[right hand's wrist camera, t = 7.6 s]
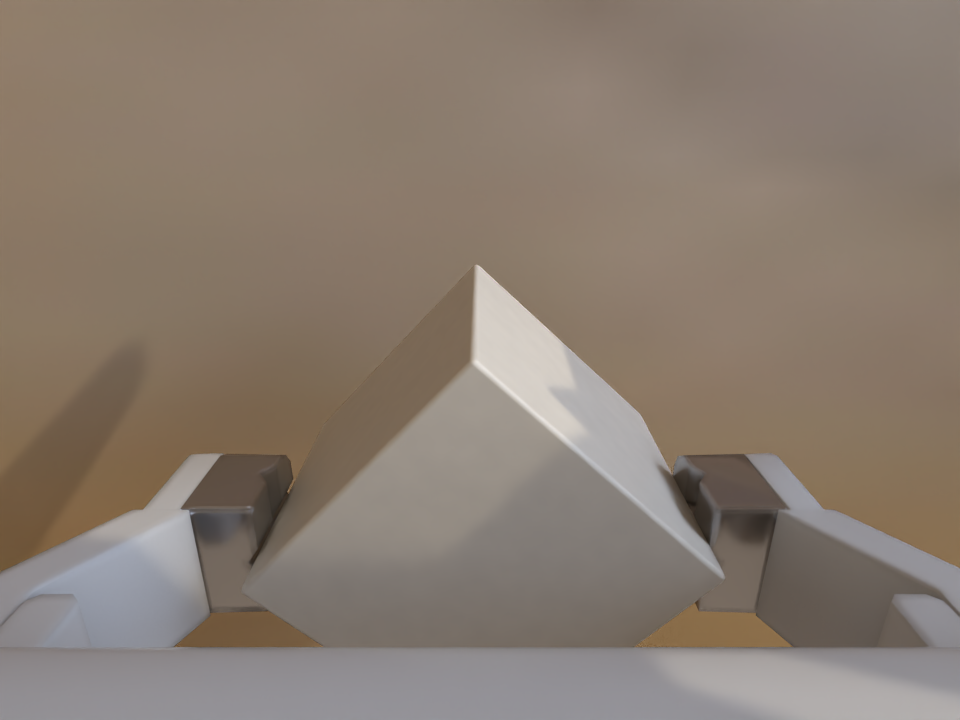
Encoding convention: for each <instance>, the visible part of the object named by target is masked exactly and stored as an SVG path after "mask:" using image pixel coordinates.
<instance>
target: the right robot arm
mask: <svg viewBox="0 0 960 720" xmlns="http://www.w3.org/2000/svg"><path fill="white" fill-rule="evenodd" d="M673 477H674V479H675V481H676V483H677V485H678V487H679V489H680V491H681V493H682V495H683V497H684V498H685V500H686V502H687V504H688V506H689V508H690V510H691V512H692V514H693V515H694V517H695V519H696V521H697V523H698V525H699V527H700V529H701V531H702V533H703V535H704V536H705V538H706V540H707V542H708V544H709V546H710V548H711V550H712V552H713V554H714V556H715V557H716V559H717V561H718V563H719V565H720V567H721V569H722V571H723V573H724V575H725V580H724V581H723V582H722V583H720V584H719V585H718V586H716V587H715V588H714V589H712V590H711V591H710V592H708V593H707V594H705V595H704V596H703V597H701V598H700V599H699V600H697V601H696V602H695V604H696V606H697V608H698V610H699V611H712V612H748V613H756V616H757V617H759V618H760V619H761V620H762V621H763V622H764V623H766V624H767V625H768V626H769V627H770V628H772V629H773V630H774V631H775V632H776V633H778V634H779V635H780V636H781V637H782V638H784V639H785V640H786V641H787V642H788V643H790V644H791V645H792V646H793V647H174V646H175V645H176V644H177V643H179V642H180V641H181V640H182V639H183V638H185V637H186V636H187V635H188V634H189V633H190V632H192V631H193V630H194V629H195V628H196V627H198V626H199V625H200V624H201V623H202V622H204V621H205V620H206V619H207V618H208V617H209V616H210V613H218V612H253V611H268V610H267V609H265V608H264V607H262V606H260V605H259V604H257V603H256V602H254V601H253V600H251V599H250V598H248V597H247V596H245V595H244V594H243V593H242V592H241V590H242V586H243V584H244V582H245V580H246V578H247V576H248V574H249V572H250V570H251V568H252V566H253V564H254V562H255V560H256V558H257V556H258V554H259V552H260V550H261V548H262V546H263V544H264V542H265V540H266V538H267V536H268V534H269V532H270V530H271V528H272V526H273V524H274V522H275V520H276V518H277V516H278V514H279V512H280V510H281V508H282V506H283V504H284V502H285V500H286V498H287V496H288V493H287V490H288V488H289V486H290V484H291V482H292V480H293V475H292V469H291V462H290V460H289V459H288V457H287V456H286V455H262V454H223V453H211V454H193V455H189V456H188V457H187V458H186V460H185V461H184V462H183V463H182V464H181V465H180V467H179V468H178V469H177V470H176V471H175V472H174V474H173V475H172V476H171V477H170V478H169V479H168V481H167V482H166V483H165V484H164V485H163V486H162V488H161V489H160V490H159V491H158V492H157V494H156V495H155V496H154V497H153V498H152V499H151V501H150V502H149V503H148V504H147V505H146V506H145V508H144V509H143V510H131V511H129V512H127V513H125V514H123V515H120V516H118V517H116V518H114V519H112V520H110V521H108V522H106V523H103V524H101V525H99V526H97V527H95V528H93V529H91V530H89V531H86V532H84V533H82V534H80V535H78V536H76V537H74V538H72V539H69V540H67V541H65V542H63V543H61V544H59V545H57V546H55V547H52V548H50V549H48V550H46V551H44V552H42V553H40V554H37V555H35V556H33V557H31V558H29V559H27V560H25V561H23V562H20V563H18V564H16V565H14V566H12V567H10V568H8V569H6V570H3V571H1V572H0V720H960V568H958V567H956V566H954V565H951V564H949V563H947V562H945V561H943V560H941V559H939V558H936V557H934V556H932V555H930V554H928V553H926V552H924V551H922V550H919V549H917V548H915V547H913V546H911V545H909V544H907V543H904V542H902V541H900V540H898V539H896V538H894V537H892V536H889V535H887V534H885V533H883V532H881V531H879V530H877V529H874V528H872V527H870V526H868V525H866V524H864V523H862V522H859V521H857V520H855V519H853V518H851V517H849V516H847V515H844V514H842V513H840V512H838V511H836V510H824V509H823V508H822V507H821V505H820V504H819V503H818V502H817V501H816V500H815V499H814V497H813V496H812V495H811V494H810V493H809V492H808V491H807V489H806V488H805V487H804V486H803V485H802V484H801V483H800V481H799V480H798V479H797V478H796V477H795V476H794V474H793V473H792V472H791V471H790V470H789V469H788V468H787V466H786V465H785V464H784V463H783V462H782V461H781V460H780V458H779V457H778V456H776V455H774V454H771V453H760V454H723V455H683V456H678V457H677V460H676V462H675V465H674V472H673Z"/></svg>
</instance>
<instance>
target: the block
mask: <svg viewBox="0 0 960 720" xmlns="http://www.w3.org/2000/svg"><path fill="white" fill-rule="evenodd" d="M724 580H725V575H724V573H723V571H722V569H721V567H720V565H719V563H718V561H717V559H716V557H715V556H714V554H713V552H712V550H711V548H710V546H709V544H708V542H707V540H706V538H705V536H704V535H703V533H702V531H701V529H700V527H699V525H698V523H697V521H696V519H695V517H694V515H693V514H692V512H691V510H690V508H689V506H688V504H687V502H686V500H685V498H684V497H683V495H682V493H681V491H680V489H679V487H678V485H677V483H676V481H675V479H674V477H673V475H672V474H671V472H670V470H669V468H668V466H667V464H666V462H665V460H664V458H663V456H662V454H661V453H660V451H659V449H658V447H657V445H656V443H655V441H654V439H653V437H652V435H651V434H650V432H649V430H648V428H647V426H646V424H645V422H644V420H643V418H642V416H641V414H640V413H638V412H637V411H636V410H635V409H634V408H633V407H632V406H631V405H630V404H629V403H628V402H627V401H625V400H624V399H623V398H622V397H621V396H620V395H619V394H618V393H617V392H616V391H615V390H614V389H612V388H611V387H610V386H609V385H608V384H607V383H606V382H605V381H604V380H603V379H602V378H600V377H599V376H598V375H597V374H596V373H595V372H594V371H593V370H592V369H591V368H590V367H589V366H587V365H586V364H585V363H584V362H583V361H582V360H581V359H580V358H579V357H578V356H577V355H576V354H574V353H573V352H572V351H571V350H570V349H569V348H568V347H567V346H566V345H565V344H564V343H562V342H561V341H560V340H559V339H558V338H557V337H556V336H555V335H554V334H553V333H552V332H551V331H549V330H548V329H547V328H546V327H545V326H544V325H543V324H542V323H541V322H540V321H539V320H538V319H536V318H535V317H534V316H533V315H532V314H531V313H530V312H529V311H528V310H527V309H526V308H524V307H523V306H522V305H521V304H520V303H519V302H518V301H517V300H516V299H515V298H514V297H513V296H511V295H510V294H509V293H508V292H507V291H506V290H505V289H504V288H503V287H502V286H501V285H500V284H498V283H497V282H496V281H495V280H494V279H493V278H492V277H491V276H490V275H489V274H488V273H486V272H485V271H484V270H483V269H482V268H481V267H480V266H478V265H475V266H473V267H472V268H471V269H470V270H469V271H468V272H467V273H466V274H465V275H464V277H463V278H462V279H461V280H460V281H459V282H458V283H457V284H456V285H455V286H454V287H453V288H452V289H451V290H450V291H449V292H448V293H447V294H446V296H445V297H444V298H443V299H442V300H441V301H440V302H439V303H438V304H437V305H436V306H435V307H434V308H433V309H432V310H431V311H430V312H429V313H428V315H427V316H426V317H425V318H424V319H423V320H422V321H421V322H420V323H419V324H418V325H417V326H416V327H415V328H414V329H413V330H412V331H411V332H410V334H409V335H408V336H407V337H406V338H405V339H404V340H403V341H402V342H401V343H400V344H399V345H398V346H397V347H396V348H395V349H394V350H393V352H392V353H391V354H390V355H389V356H388V357H387V358H386V359H385V360H384V361H383V362H382V363H381V364H380V365H379V366H378V367H377V368H376V369H375V371H374V372H373V373H372V374H371V375H370V376H369V377H368V378H367V379H366V380H365V381H364V382H363V383H362V384H361V385H360V386H359V387H358V388H357V390H356V391H355V392H354V393H353V394H352V395H351V396H350V397H349V398H348V399H347V400H346V401H345V402H344V403H343V404H342V405H341V406H340V407H339V409H338V410H337V411H336V412H335V413H334V414H333V415H332V416H331V417H330V418H329V419H328V420H327V421H326V422H325V423H324V425H323V427H322V429H321V431H320V433H319V435H318V437H317V439H316V441H315V443H314V445H313V447H312V449H311V451H310V453H309V455H308V457H307V459H306V461H305V463H304V465H303V467H302V469H301V470H300V472H299V474H298V476H297V478H296V480H295V482H294V484H293V486H292V488H291V490H290V492H289V494H288V496H287V498H286V500H285V502H284V504H283V506H282V508H281V510H280V512H279V514H278V516H277V518H276V520H275V522H274V524H273V526H272V528H271V530H270V532H269V534H268V536H267V538H266V540H265V542H264V544H263V546H262V548H261V550H260V552H259V554H258V556H257V558H256V560H255V562H254V564H253V566H252V568H251V570H250V572H249V574H248V576H247V578H246V580H245V582H244V584H243V586H242V590H241V592H242V593H243V594H244V595H245V596H247V597H248V598H250V599H251V600H253V601H254V602H256V603H257V604H259V605H260V606H262V607H264V608H265V609H267V610H268V611H270V612H271V613H273V614H274V615H276V616H277V617H279V618H280V619H282V620H283V621H285V622H287V623H288V624H290V625H291V626H293V627H294V628H296V629H297V630H299V631H300V632H302V633H303V634H305V635H307V636H308V637H310V638H311V639H313V640H314V641H316V642H317V643H319V644H320V645H322V646H323V647H635V646H636V645H637V644H639V643H640V642H641V641H643V640H644V639H645V638H647V637H648V636H650V635H651V634H652V633H654V632H655V631H656V630H658V629H659V628H660V627H662V626H663V625H665V624H666V623H667V622H669V621H670V620H671V619H673V618H674V617H675V616H677V615H678V614H680V613H681V612H682V611H684V610H685V609H686V608H688V607H689V606H690V605H692V604H693V603H695V602H696V601H697V600H699V599H700V598H701V597H703V596H704V595H705V594H707V593H708V592H710V591H711V590H712V589H714V588H715V587H716V586H718V585H719V584H720V583H722V582H723V581H724Z"/></svg>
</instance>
